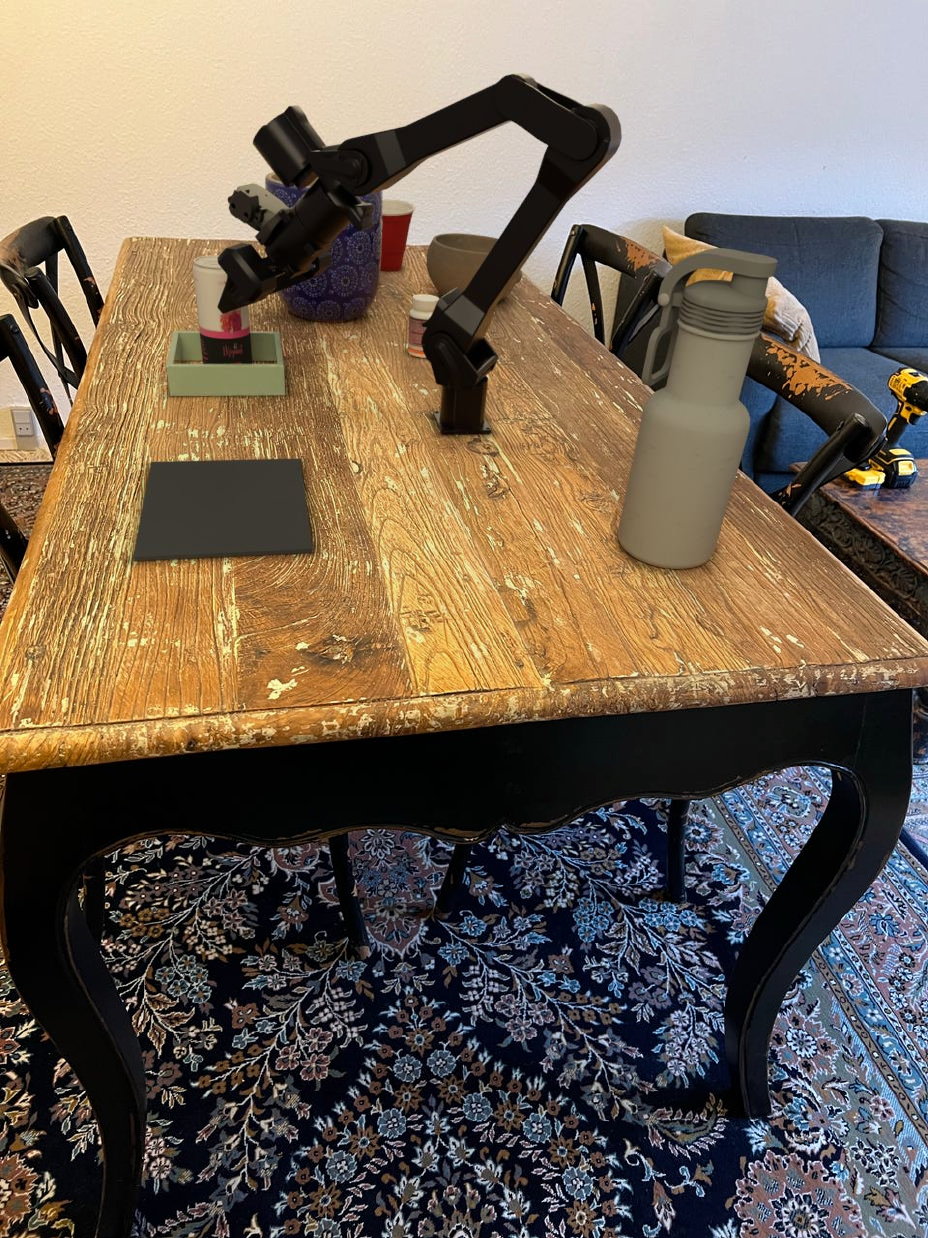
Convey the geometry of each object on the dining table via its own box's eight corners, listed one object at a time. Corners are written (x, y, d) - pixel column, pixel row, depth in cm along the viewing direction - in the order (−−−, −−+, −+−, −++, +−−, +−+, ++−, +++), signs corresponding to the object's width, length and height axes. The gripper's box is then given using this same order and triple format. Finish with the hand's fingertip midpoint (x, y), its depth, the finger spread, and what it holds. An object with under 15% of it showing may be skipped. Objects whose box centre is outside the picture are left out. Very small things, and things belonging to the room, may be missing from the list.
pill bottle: (434, 360, 127) (437, 303, 122) (404, 355, 128) (406, 299, 123) (441, 350, 131) (444, 295, 126) (412, 346, 132) (414, 291, 127)
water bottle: (596, 548, 84) (653, 250, 68) (636, 513, 91) (696, 235, 75) (691, 584, 80) (777, 275, 64) (726, 544, 87) (811, 257, 70)
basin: (285, 395, 111) (283, 365, 109) (170, 396, 108) (166, 365, 106) (280, 358, 123) (279, 331, 120) (176, 358, 120) (172, 330, 117)
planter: (251, 317, 138) (241, 177, 126) (303, 292, 153) (299, 165, 141) (353, 335, 134) (352, 193, 122) (397, 308, 148) (400, 178, 137)
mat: (312, 552, 79) (312, 548, 79) (133, 561, 76) (133, 556, 76) (300, 462, 95) (300, 458, 95) (151, 465, 92) (150, 461, 91)
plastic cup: (351, 269, 169) (351, 204, 162) (372, 258, 178) (372, 196, 171) (402, 277, 167) (404, 211, 160) (420, 266, 176) (422, 203, 169)
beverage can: (248, 386, 113) (239, 268, 104) (199, 382, 113) (186, 264, 104) (257, 369, 118) (249, 257, 110) (210, 366, 118) (198, 253, 109)
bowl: (526, 293, 164) (532, 238, 158) (505, 316, 149) (511, 257, 144) (441, 281, 167) (444, 226, 161) (413, 302, 152) (415, 243, 147)
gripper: (308, 154, 105) (237, 236, 114) (225, 170, 91) (152, 262, 99) (364, 231, 108) (291, 305, 117) (292, 258, 93) (215, 340, 102)
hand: (240, 301), depth 109 cm, fingers open, 9 cm apart
